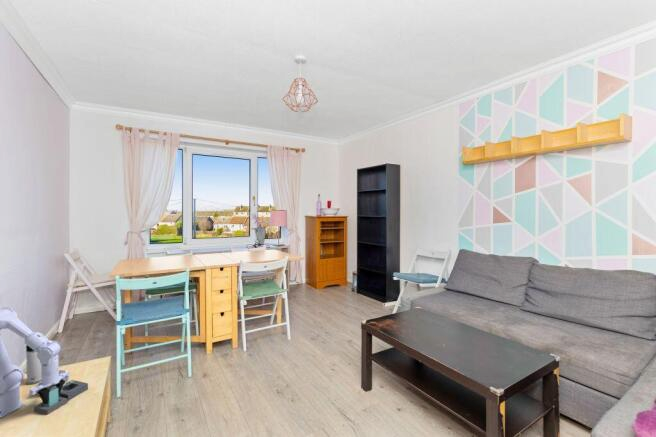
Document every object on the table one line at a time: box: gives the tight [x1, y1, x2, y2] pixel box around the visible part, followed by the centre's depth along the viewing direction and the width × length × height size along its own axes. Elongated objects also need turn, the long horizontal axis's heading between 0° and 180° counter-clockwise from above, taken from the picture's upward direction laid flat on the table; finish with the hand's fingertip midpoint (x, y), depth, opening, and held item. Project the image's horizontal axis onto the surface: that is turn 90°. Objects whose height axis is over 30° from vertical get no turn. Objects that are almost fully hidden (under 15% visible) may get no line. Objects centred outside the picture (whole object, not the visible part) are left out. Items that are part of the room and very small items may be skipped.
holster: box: [33, 397, 69, 415], centre depth 136 cm, size 8×8×2 cm
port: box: [59, 379, 89, 402], centre depth 145 cm, size 9×10×3 cm
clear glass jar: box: [50, 369, 71, 386], centre depth 148 cm, size 8×8×10 cm
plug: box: [43, 385, 59, 407], centre depth 135 cm, size 4×4×9 cm
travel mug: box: [25, 345, 42, 385], centre depth 153 cm, size 6×7×20 cm
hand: (50, 400), depth 135 cm, fingers closed on plug, 4 cm apart
